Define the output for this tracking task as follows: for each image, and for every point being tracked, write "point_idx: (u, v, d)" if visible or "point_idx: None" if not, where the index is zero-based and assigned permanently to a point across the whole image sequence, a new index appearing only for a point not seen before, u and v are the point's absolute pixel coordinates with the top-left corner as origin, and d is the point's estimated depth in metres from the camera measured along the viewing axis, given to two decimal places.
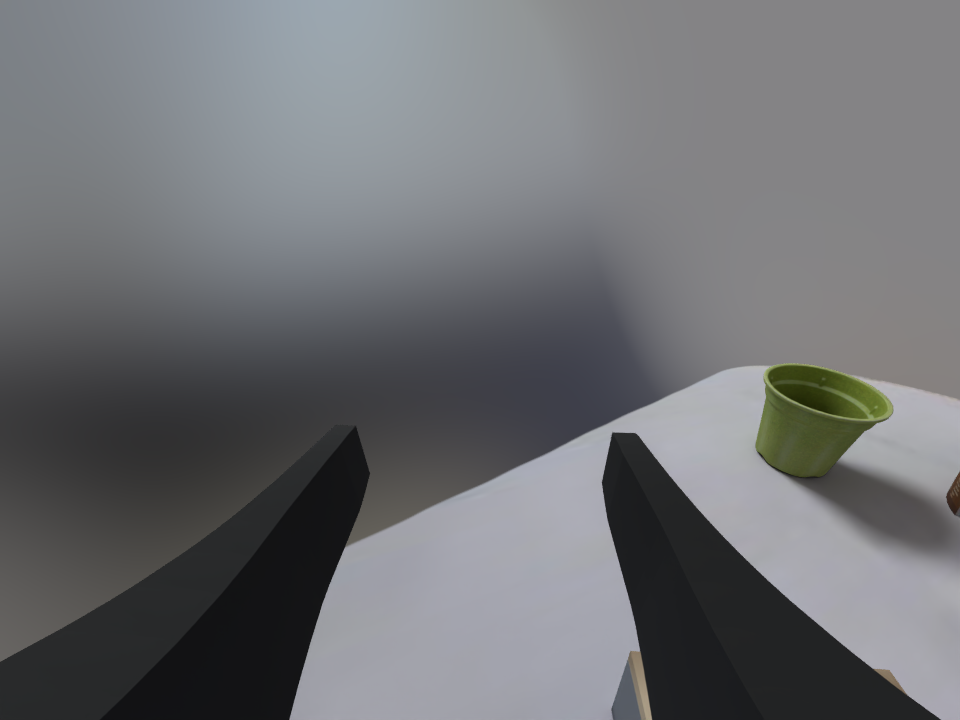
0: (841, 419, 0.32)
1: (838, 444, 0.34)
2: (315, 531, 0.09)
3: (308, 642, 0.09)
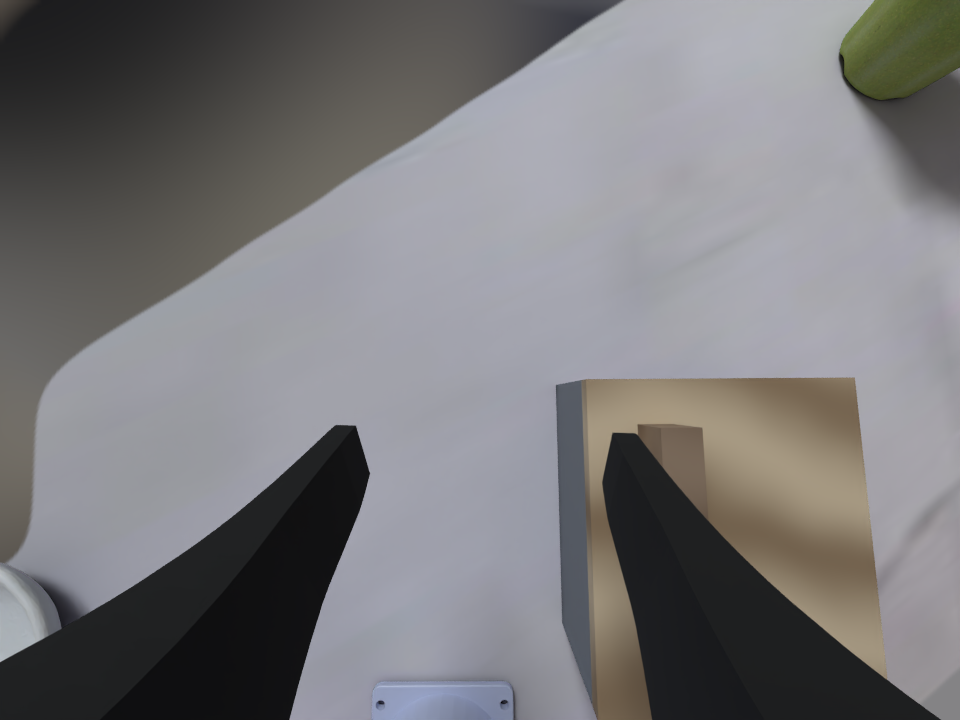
0: None
1: None
2: (315, 531, 0.09)
3: (308, 642, 0.09)
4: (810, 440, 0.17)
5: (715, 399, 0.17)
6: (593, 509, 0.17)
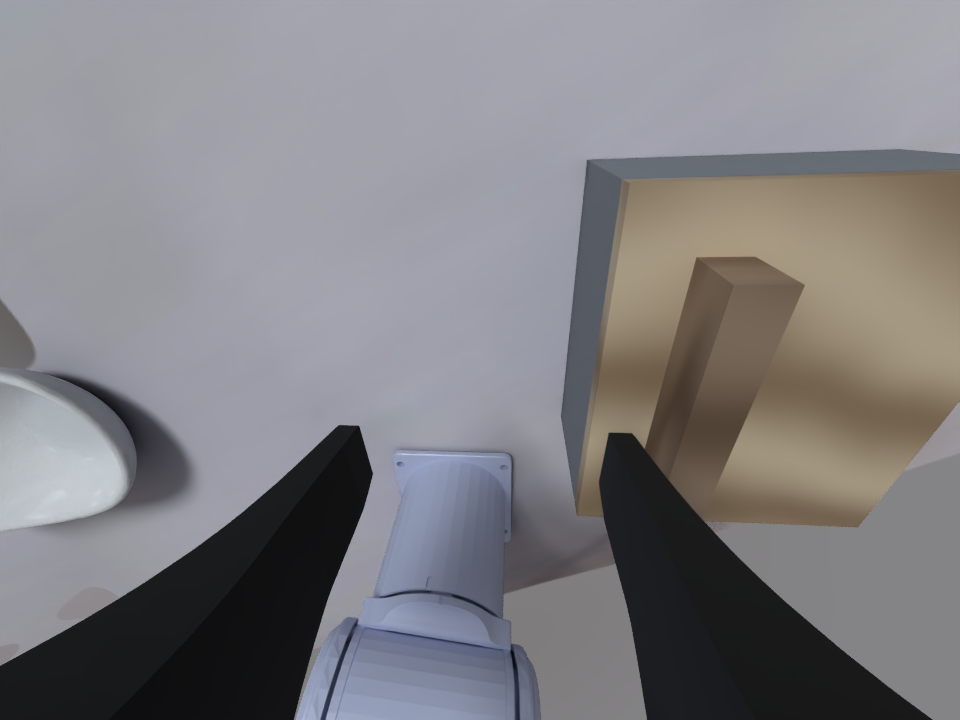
0: None
1: None
2: (319, 531, 0.09)
3: (312, 642, 0.09)
4: None
5: (845, 215, 0.10)
6: (605, 362, 0.13)
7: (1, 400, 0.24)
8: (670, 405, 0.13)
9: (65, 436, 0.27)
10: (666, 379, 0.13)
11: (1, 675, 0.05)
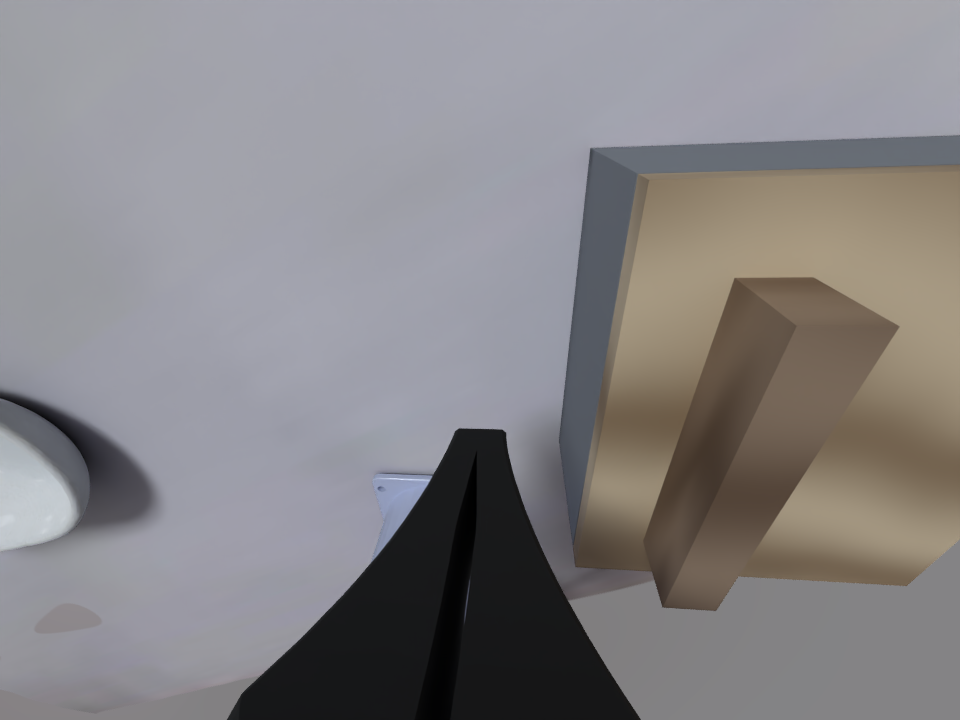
0: None
1: None
2: (465, 539, 0.09)
3: None
4: None
5: (944, 224, 0.07)
6: (611, 403, 0.10)
7: None
8: (693, 459, 0.10)
9: (11, 457, 0.24)
10: (687, 425, 0.10)
11: (256, 698, 0.05)
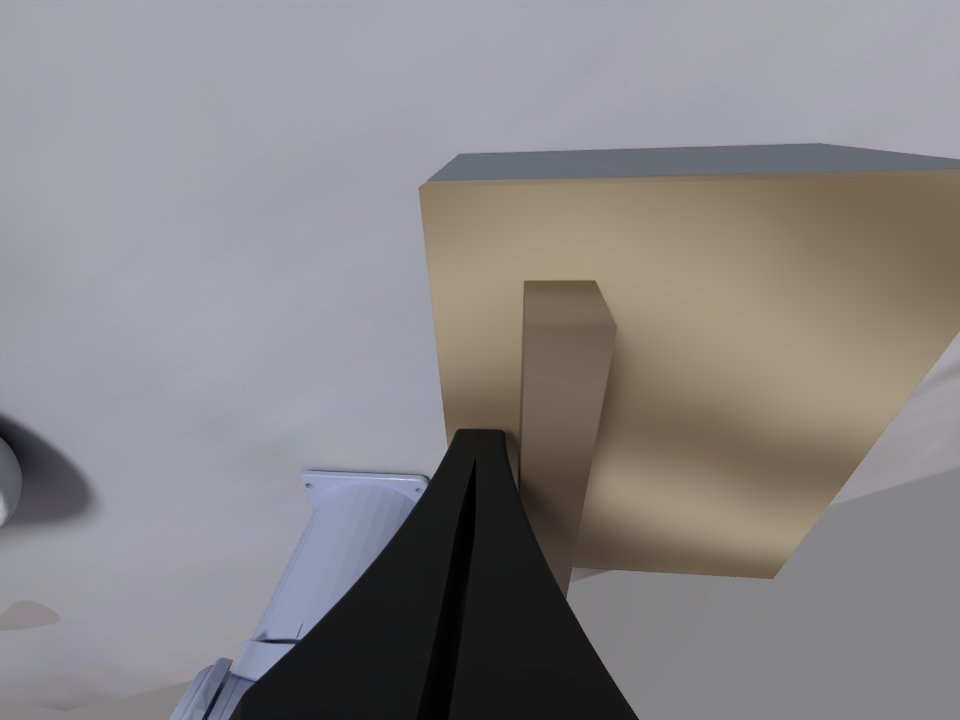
0: None
1: None
2: (466, 539, 0.09)
3: None
4: (863, 311, 0.08)
5: (697, 230, 0.08)
6: (447, 400, 0.11)
7: None
8: (519, 454, 0.10)
9: None
10: (519, 422, 0.11)
11: (258, 698, 0.05)
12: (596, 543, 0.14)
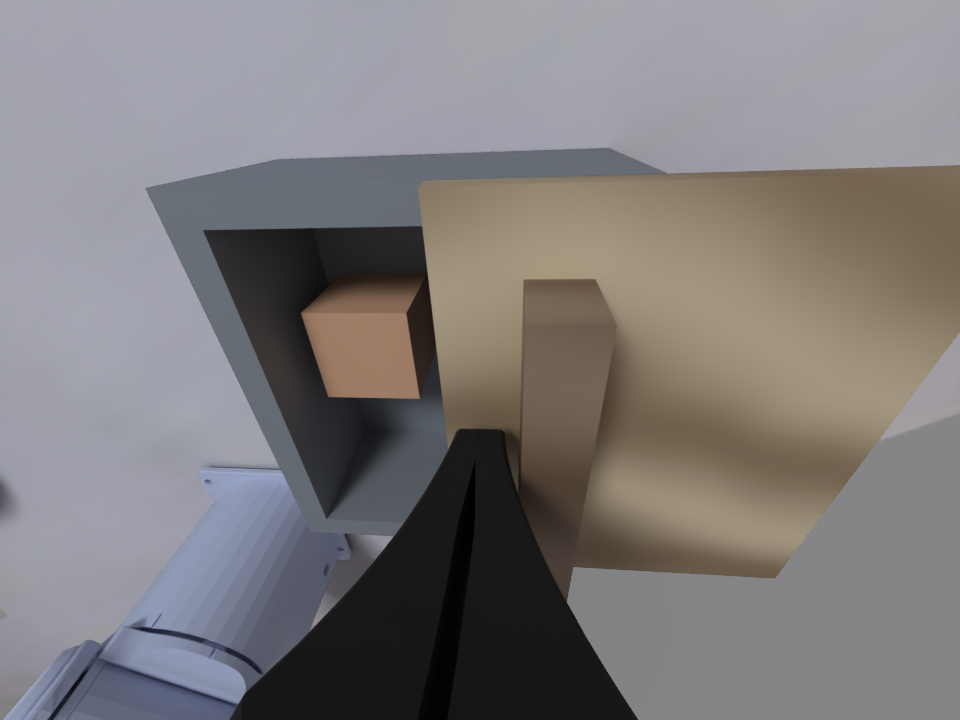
0: None
1: None
2: (466, 539, 0.09)
3: None
4: (865, 309, 0.08)
5: (697, 228, 0.08)
6: (447, 400, 0.11)
7: None
8: None
9: None
10: None
11: (259, 698, 0.05)
12: (598, 542, 0.14)
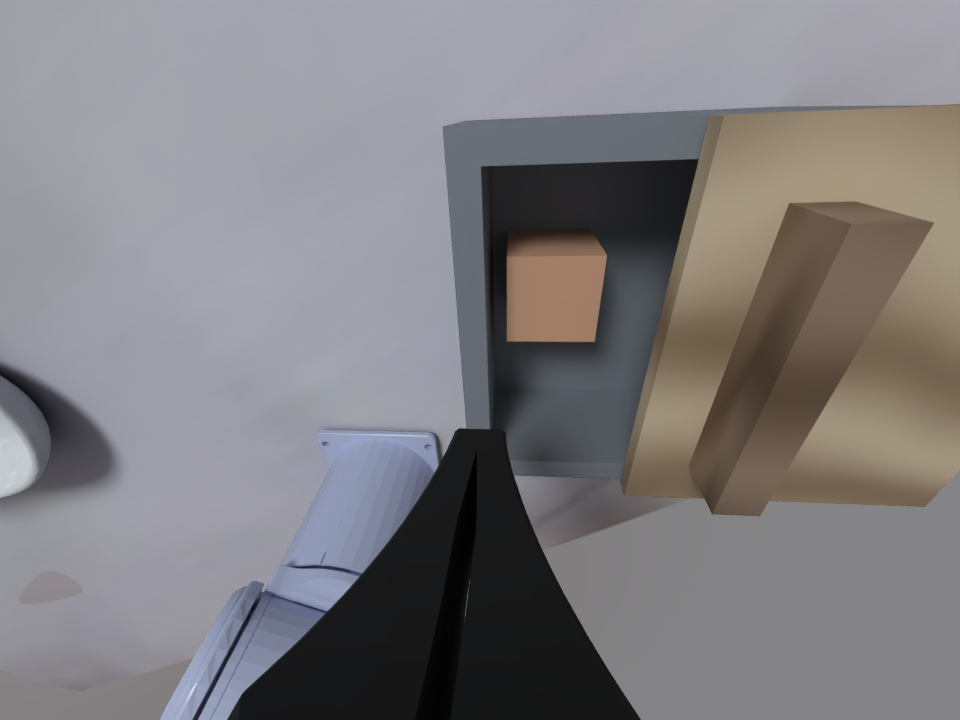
0: None
1: None
2: (465, 539, 0.09)
3: None
4: None
5: None
6: (672, 325, 0.12)
7: None
8: (746, 371, 0.12)
9: None
10: (739, 344, 0.12)
11: (256, 698, 0.05)
12: None
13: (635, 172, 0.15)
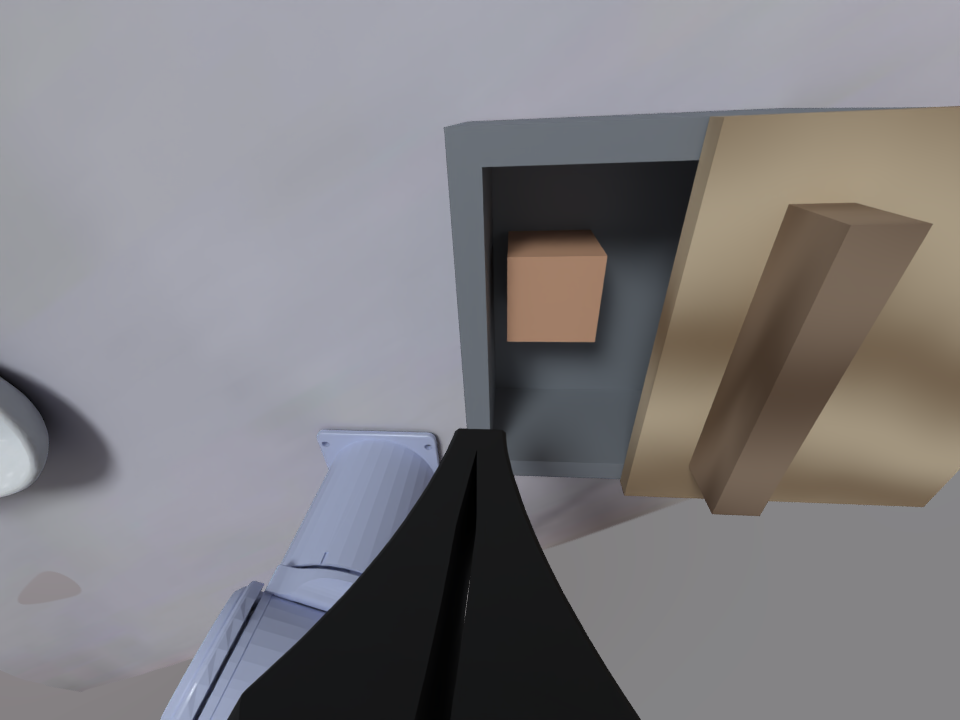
0: None
1: None
2: (465, 539, 0.09)
3: None
4: None
5: None
6: (672, 326, 0.12)
7: None
8: (746, 371, 0.12)
9: None
10: (739, 345, 0.12)
11: (256, 698, 0.05)
12: None
13: (635, 173, 0.15)
